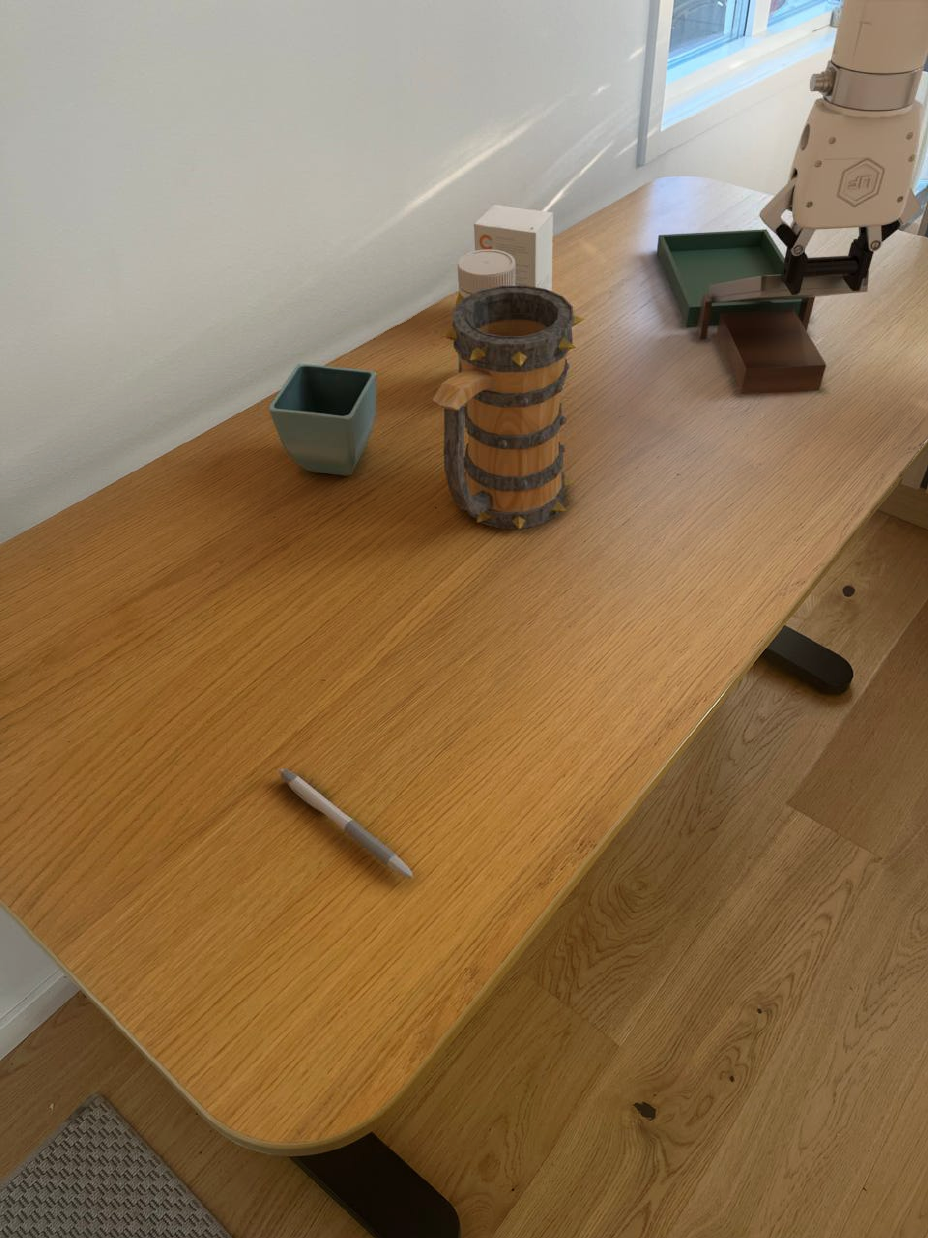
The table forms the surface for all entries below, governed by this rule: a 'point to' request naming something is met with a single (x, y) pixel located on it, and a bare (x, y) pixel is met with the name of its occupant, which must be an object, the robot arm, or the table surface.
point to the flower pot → (325, 416)
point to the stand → (767, 348)
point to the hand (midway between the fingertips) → (821, 284)
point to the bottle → (484, 272)
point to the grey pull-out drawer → (818, 281)
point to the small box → (520, 241)
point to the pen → (345, 823)
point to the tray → (719, 269)
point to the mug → (507, 405)
